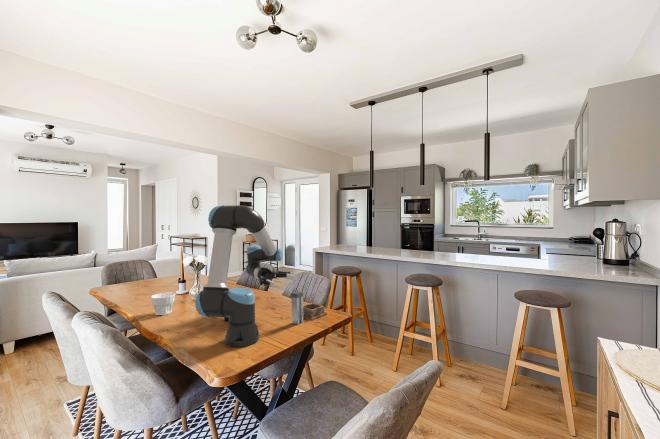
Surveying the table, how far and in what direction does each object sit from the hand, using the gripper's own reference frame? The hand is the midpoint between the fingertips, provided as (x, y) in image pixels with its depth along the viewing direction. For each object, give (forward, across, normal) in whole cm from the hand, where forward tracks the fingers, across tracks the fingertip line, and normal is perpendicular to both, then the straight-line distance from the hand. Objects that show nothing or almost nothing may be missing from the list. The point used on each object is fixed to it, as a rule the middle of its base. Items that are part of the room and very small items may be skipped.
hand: (284, 281), depth 160 cm
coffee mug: (-23, +23, -21) cm, 39 cm away
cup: (-60, +45, -22) cm, 78 cm away
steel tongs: (+10, 0, -21) cm, 23 cm away
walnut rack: (+7, -13, -22) cm, 27 cm away
